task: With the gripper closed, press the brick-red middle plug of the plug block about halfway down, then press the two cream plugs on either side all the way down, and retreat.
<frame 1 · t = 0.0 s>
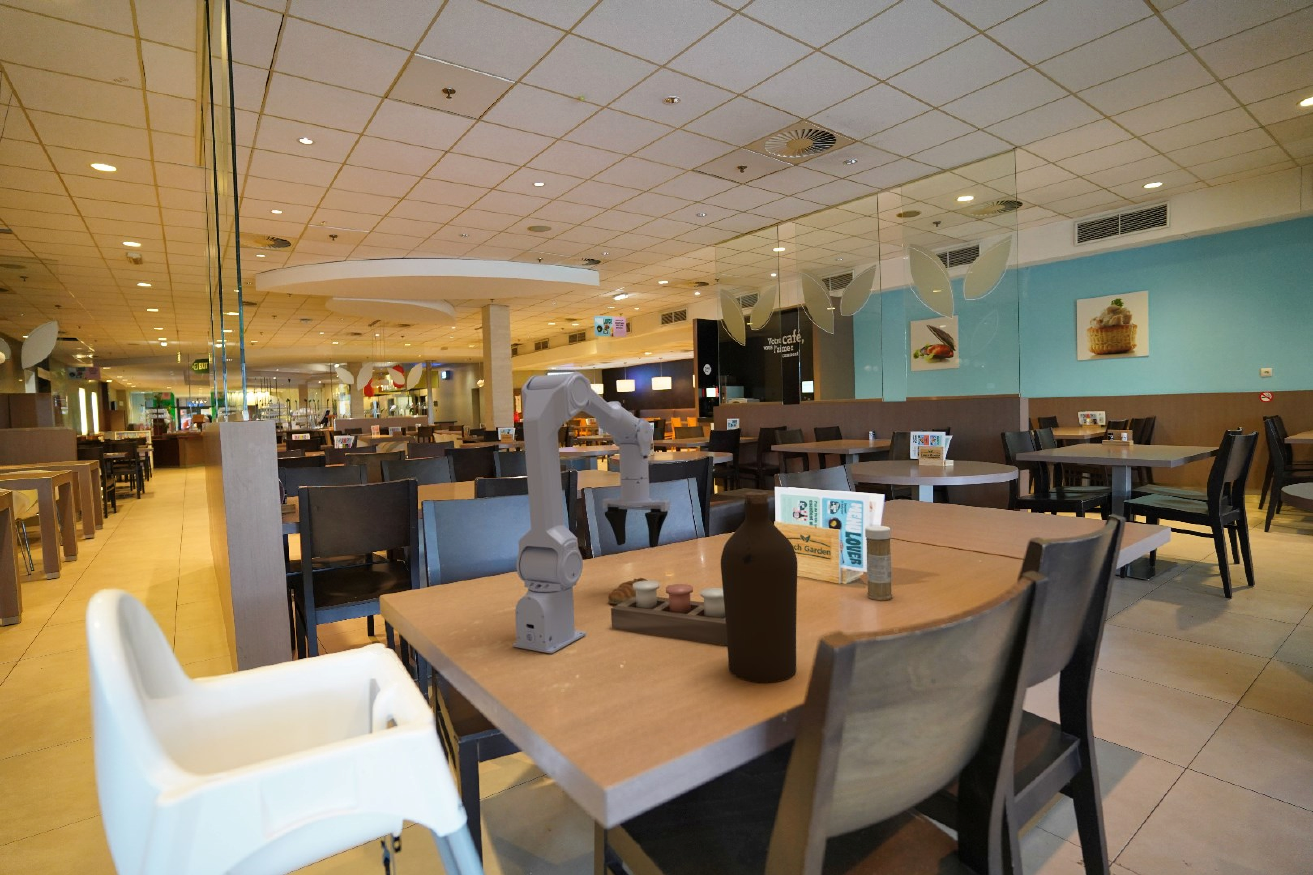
hand: (637, 545, 132), 10 cm above the table, tool pointing down, fingers open, 7 cm apart
red plug: (679, 599, 111), point 5 cm above the table, slide at 0.0 cm
plug block: (680, 628, 111), on the table
pastry: (632, 601, 130), on the table
cream plug 1: (646, 595, 114), point 5 cm above the table, slide at 0.0 cm
cream plug 2: (715, 603, 108), point 5 cm above the table, slide at 0.0 cm
olive oil: (762, 670, 92), on the table
sprinkles bottle: (879, 598, 124), on the table
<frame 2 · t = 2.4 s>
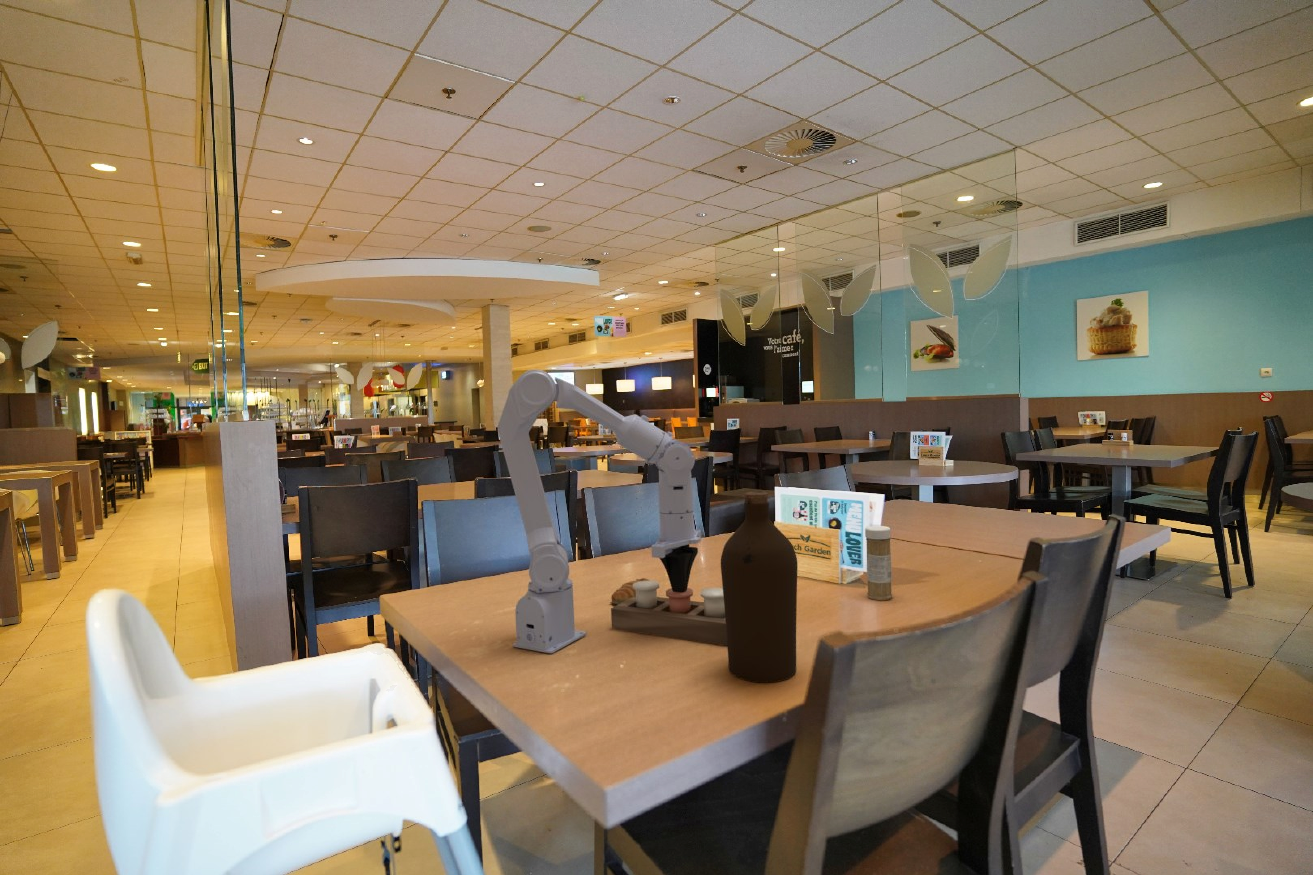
hand: (679, 591, 111), 6 cm above the table, tool pointing down, fingers closed, pressing on red plug
red plug: (679, 602, 111), point 4 cm above the table, slide at 0.6 cm, touching gripper
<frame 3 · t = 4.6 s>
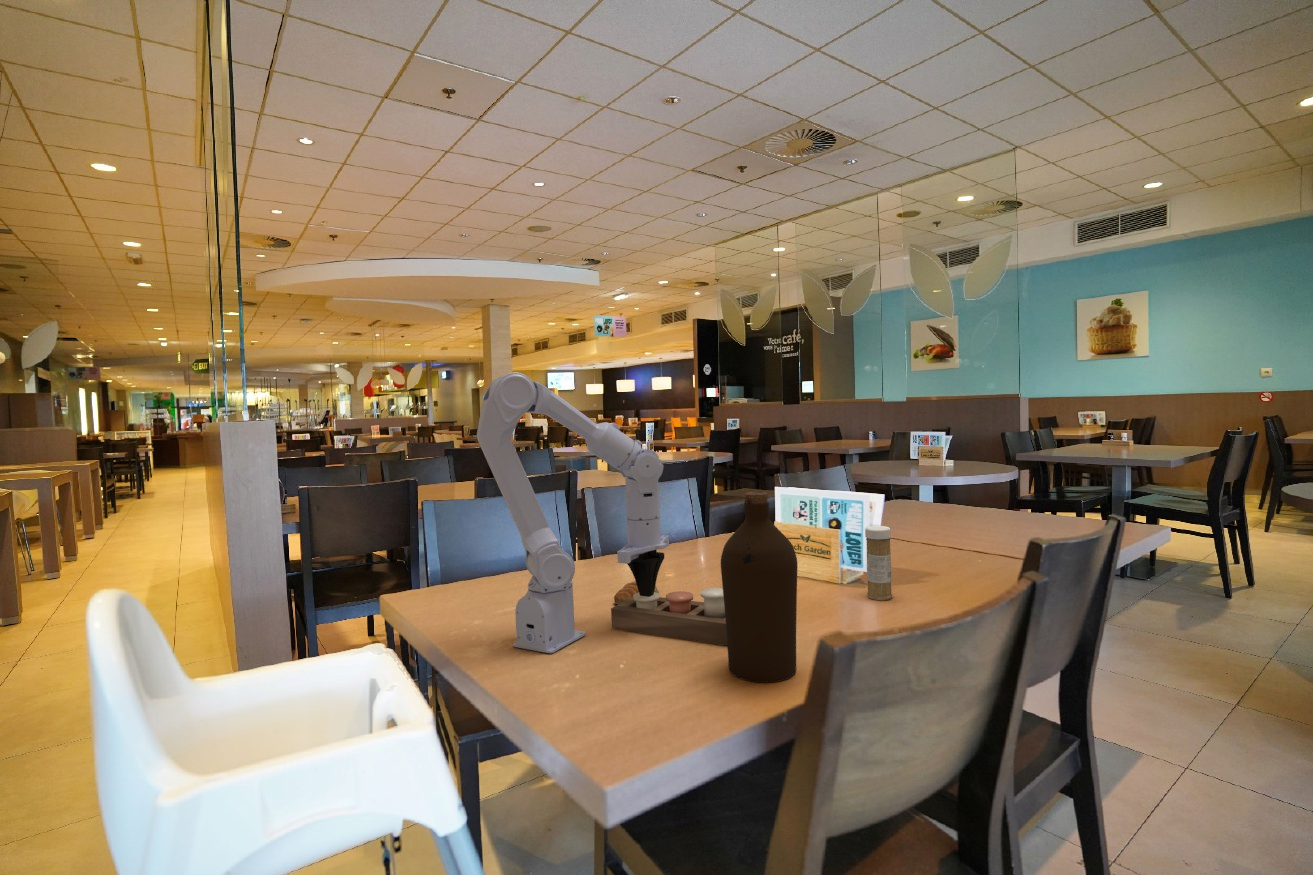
hand: (646, 595, 114), 5 cm above the table, tool pointing down, fingers closed, pressing on cream plug 1
red plug: (680, 606, 111), point 4 cm above the table, slide at 1.3 cm
cream plug 1: (646, 606, 114), point 3 cm above the table, slide at 2.0 cm, touching gripper
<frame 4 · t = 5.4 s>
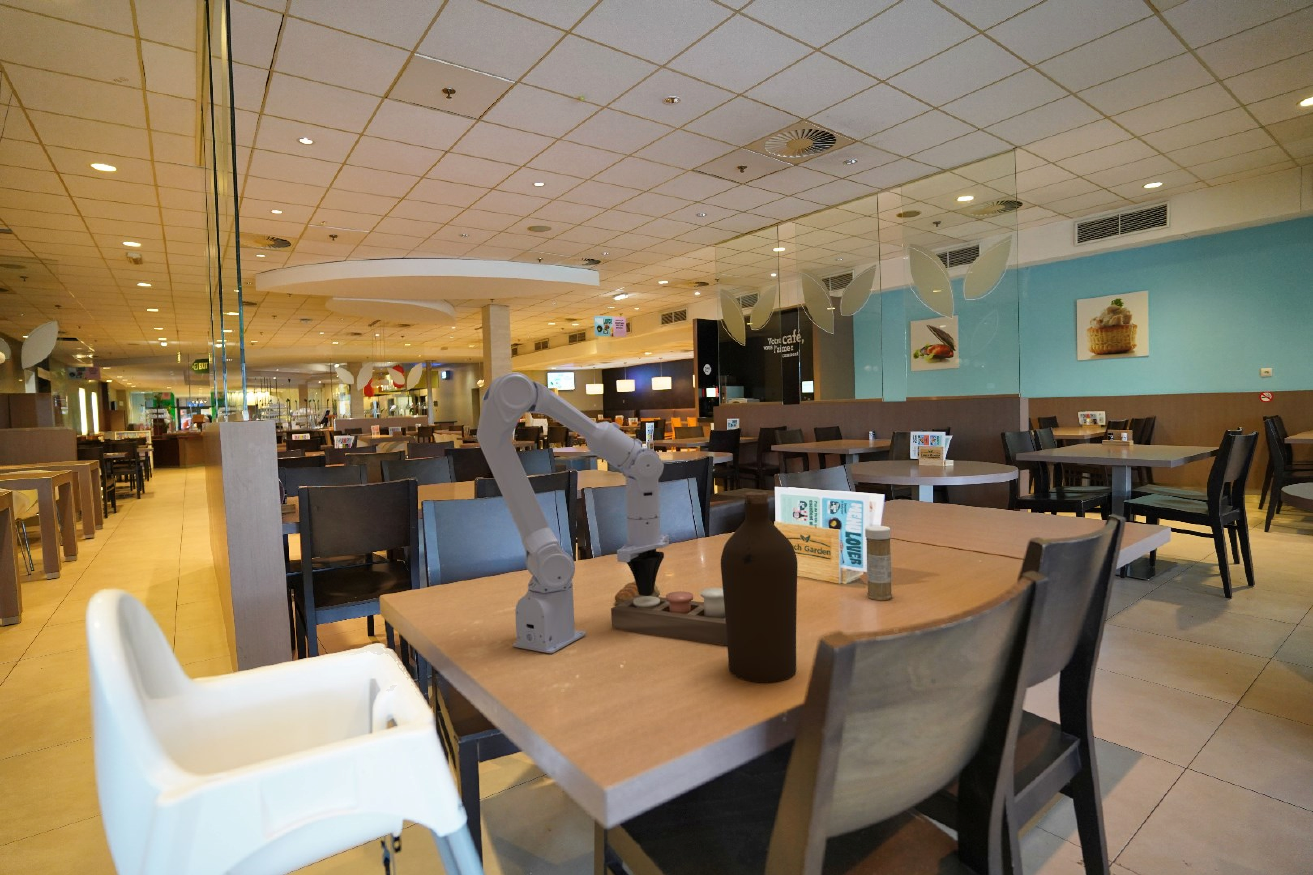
hand: (645, 594, 114), 5 cm above the table, tool pointing down, fingers closed
cream plug 1: (647, 611, 114), point 2 cm above the table, slide at 2.8 cm
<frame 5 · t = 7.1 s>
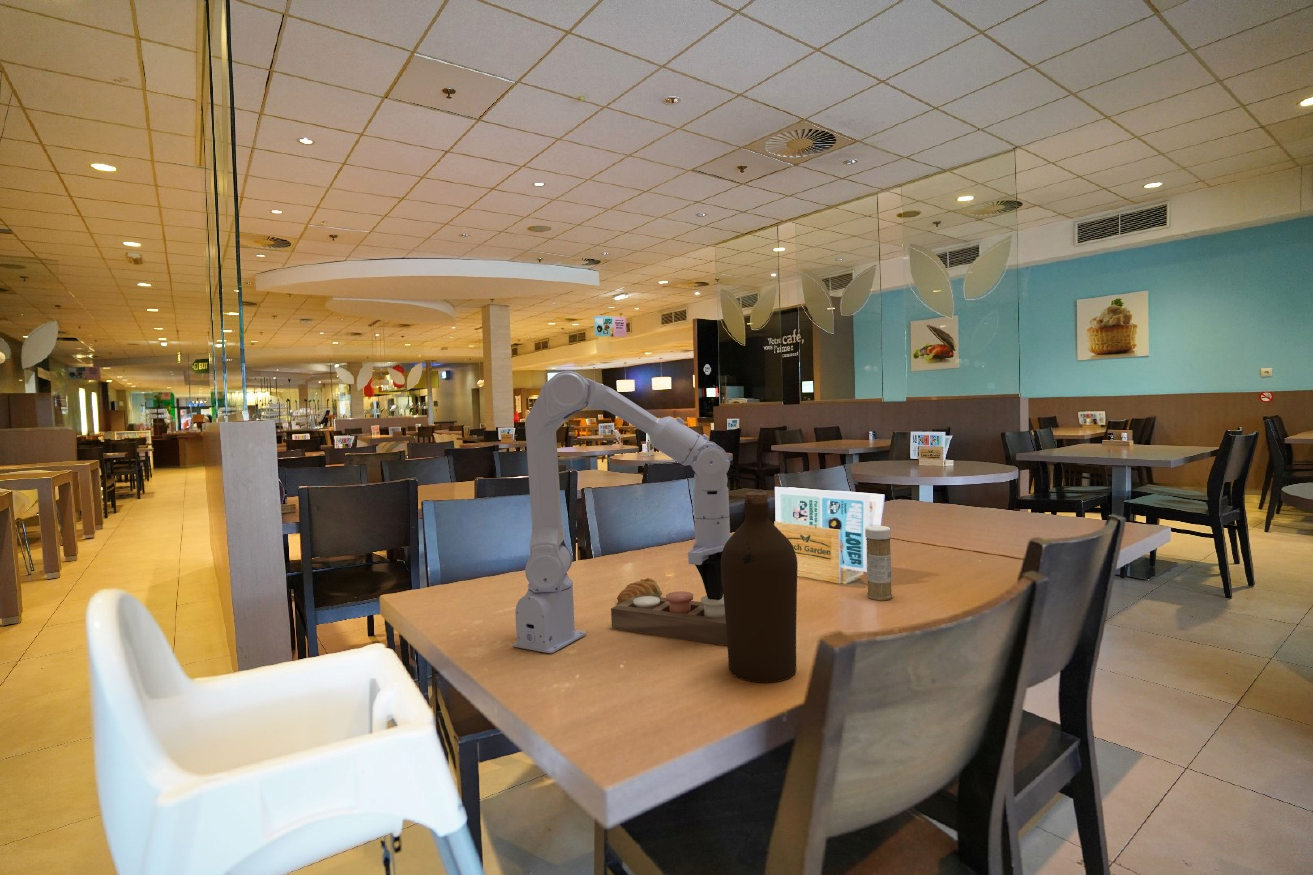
hand: (715, 598, 108), 6 cm above the table, tool pointing down, fingers closed, pressing on cream plug 2
cream plug 2: (715, 610, 108), point 4 cm above the table, slide at 1.2 cm, touching gripper
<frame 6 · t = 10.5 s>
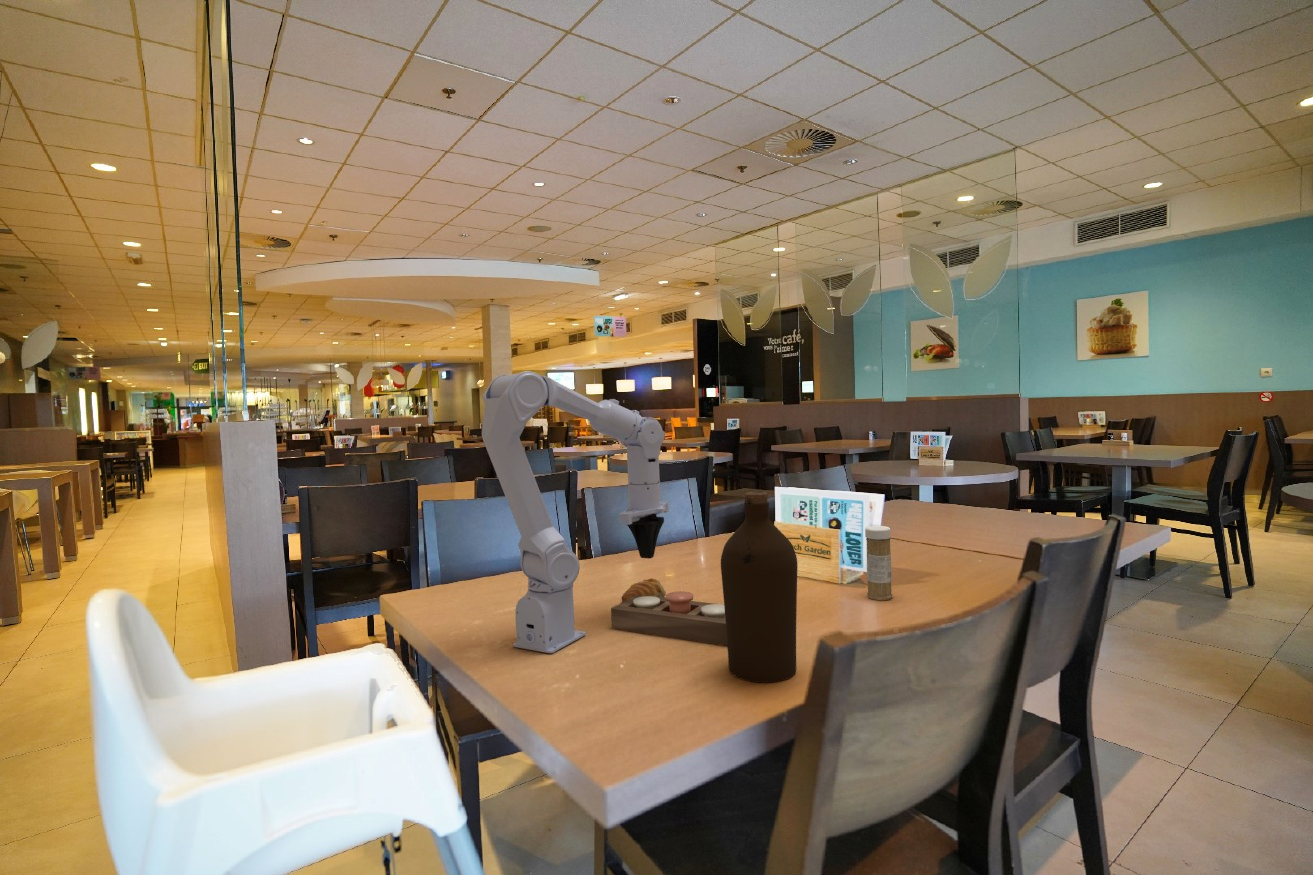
hand: (647, 557, 119), 10 cm above the table, tool pointing down, fingers closed
cream plug 2: (715, 620, 108), point 2 cm above the table, slide at 2.8 cm
at the end: red plug slide at 1.3 cm; cream plug 1 slide at 2.8 cm; cream plug 2 slide at 2.8 cm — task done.
